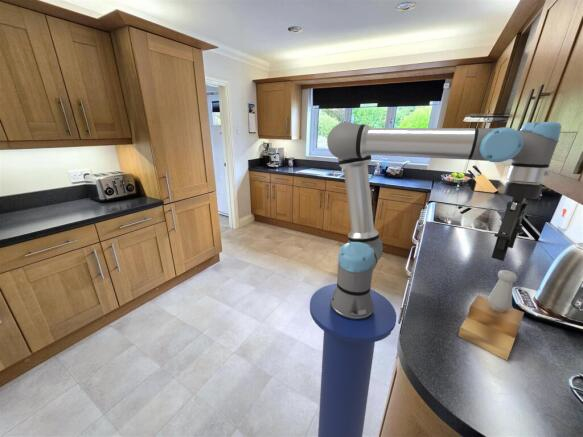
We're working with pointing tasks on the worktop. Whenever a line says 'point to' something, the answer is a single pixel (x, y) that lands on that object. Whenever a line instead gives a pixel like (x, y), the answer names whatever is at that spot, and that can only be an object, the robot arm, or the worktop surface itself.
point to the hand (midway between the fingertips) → (502, 252)
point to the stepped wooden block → (491, 327)
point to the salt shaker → (502, 291)
